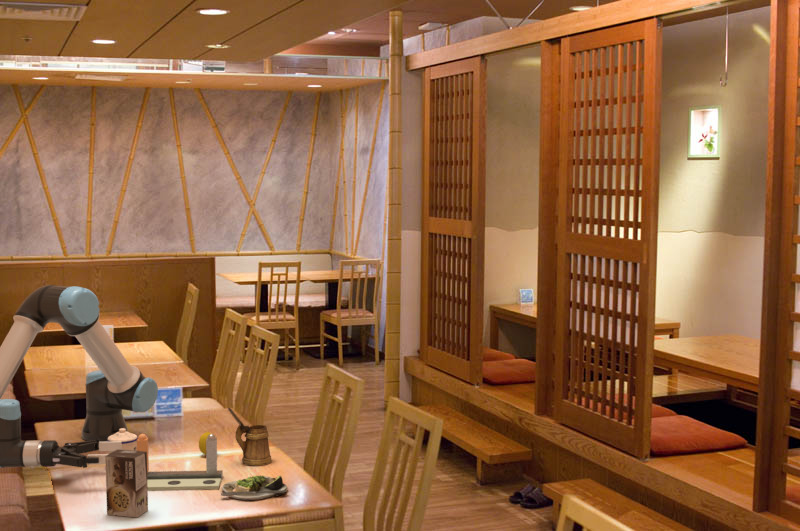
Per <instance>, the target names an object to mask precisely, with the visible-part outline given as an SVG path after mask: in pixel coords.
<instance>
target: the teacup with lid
mask: <svg viewBox="0 0 800 531" xmlns="http://www.w3.org/2000/svg"><path fill="white" fill-rule="evenodd" d="M138 437H139V436H137V434H135V433H132V432H129V431H128V432H127V431H126V429H125V428H121V429H119V432H117V433H115V434H114V435H111V436H109V437H108V439H107V441H106V442H117V441H122V450H132V451H137V439H138ZM112 452H113V451H107V454H110V453H112Z"/></svg>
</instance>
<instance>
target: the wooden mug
mask: <svg viewBox="0 0 800 531" xmlns="http://www.w3.org/2000/svg"><path fill="white" fill-rule="evenodd" d="M227 410H228V411H229V413H230V414H231V416H232V417H233V419H234V420H235V421H236V422H237V424H238V426H237V427H236V431H235V439H236V440H235V441H236V443H237V444H238V446H239V447H240V448H241V450H242V455H243V456H242V458H241V459H242V460H241V462H242V464H244V465H247V466H250V467H251V466H252V467H260V466H265V465H266V466H267V465H269V464H271V463H272V460H273V459H272V456H271V451H270V445H269V431H268V430H267V426H266V425H263V424H254V425H250V426H249V425H247V424H246V425H245V424H244V423H243V421H242V419H241V418H239V417H238V415H237V414H236V413H235V412H234V411H233V409H232V408H230V407H228V408H227ZM243 434H244V438H245V440H243V439H242V435H243Z"/></svg>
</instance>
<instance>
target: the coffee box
mask: <svg viewBox="0 0 800 531" xmlns="http://www.w3.org/2000/svg"><path fill="white" fill-rule="evenodd" d="M107 454H108V453H107ZM104 466H105V487H106V488H105V490H106V515H107V514H108V515H107V516H115V515H117V516H118V517H128V518H129V517H130V518H138V517H140V516H141V515H143V514H145V513H146V512H148V511H149V498H148V497H149V496H148V488H147V452H145V451H132V450H115V451H113V452H112V453H110V454H108V455H106V456H105V464H104Z"/></svg>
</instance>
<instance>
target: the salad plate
mask: <svg viewBox="0 0 800 531" xmlns="http://www.w3.org/2000/svg"><path fill="white" fill-rule="evenodd" d="M287 489H288V486H287V485H286V484H285V483H284V482H283V477H282V475H278V476H277V477H271V476H267V475H265V476H264V475H252V476H248V477H246V478H243V479H237V480H233V481H228V482H226V483H224V484H222V487H221V490H222V491H223V492H221V493H220V496H222V497H229V498H231V499H234V500H235V499H236V500H243V501H258V500H265V499H268V498H274V497H279V496H281V495H283V494H285V493H287V492H288V490H287ZM234 490H235V491H234Z"/></svg>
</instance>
